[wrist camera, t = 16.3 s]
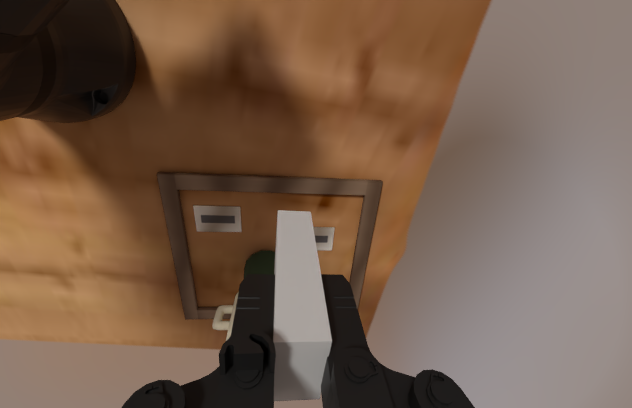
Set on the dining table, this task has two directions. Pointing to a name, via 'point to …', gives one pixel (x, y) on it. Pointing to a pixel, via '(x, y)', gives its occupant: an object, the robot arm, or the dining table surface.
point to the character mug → (254, 265)
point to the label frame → (231, 220)
